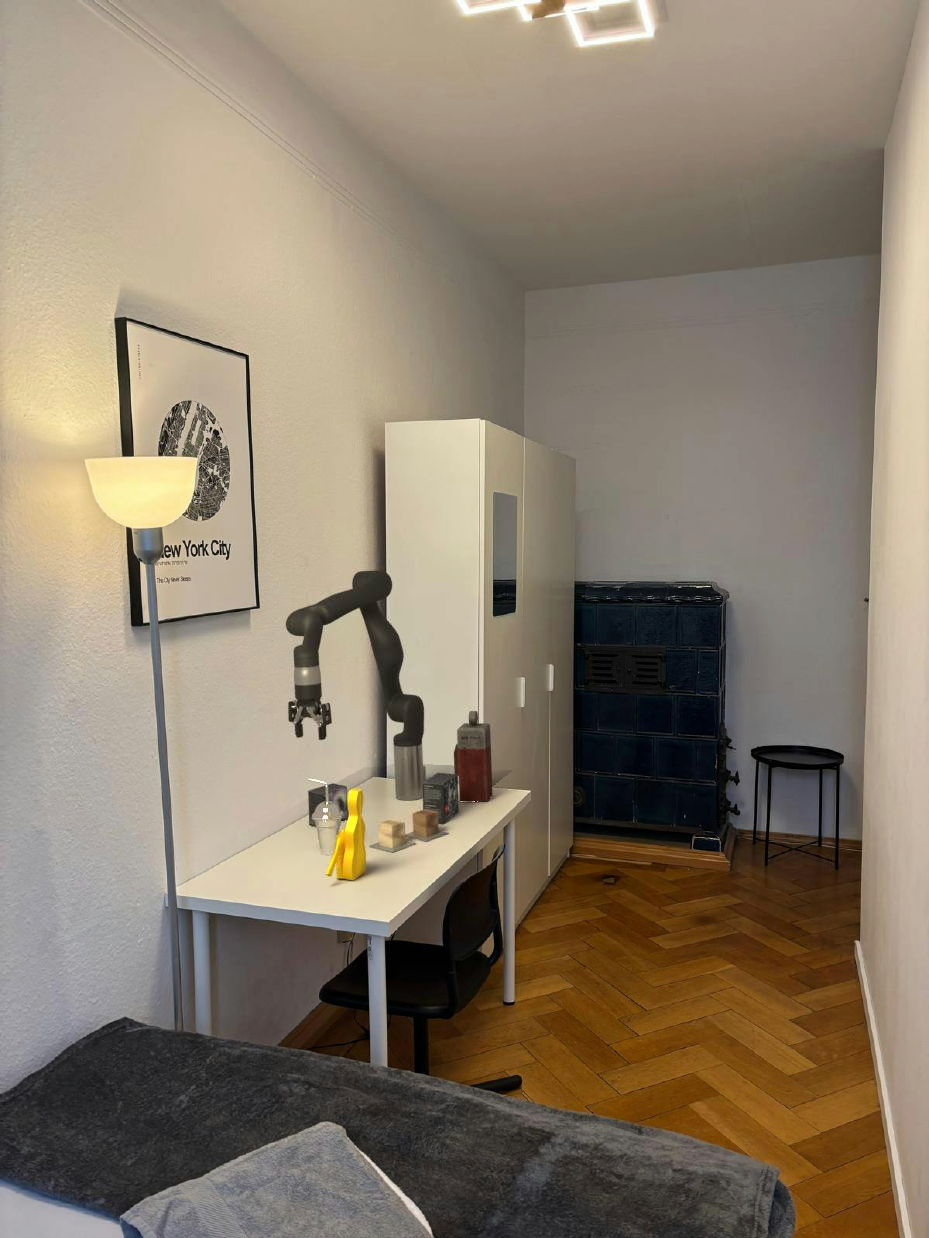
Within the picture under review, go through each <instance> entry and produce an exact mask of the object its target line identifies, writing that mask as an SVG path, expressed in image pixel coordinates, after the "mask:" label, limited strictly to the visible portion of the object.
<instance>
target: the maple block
mask: <svg viewBox="0 0 929 1238" xmlns="http://www.w3.org/2000/svg"><path fill="white" fill-rule="evenodd" d="M405 834H406V821H402V820H399V819H394V818H391V819H387V820H384V821H382V822H379V823H378V838H379V839H378V840H379V841H378V842H380V845H382V846H385V847H389V848H395V847H398V846H401V845H403V844H406V841H407V840H406V838H407V837H406V836H405Z"/></svg>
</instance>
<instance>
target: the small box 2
mask: <svg viewBox="0 0 929 1238" xmlns="http://www.w3.org/2000/svg"><path fill="white" fill-rule="evenodd" d="M422 788H423V797H422V810H424V809H426V810H431V811H436V812H438V825H439V824H440V825H445V824H446V823H448V822H449V821H450V820H451V819H452V818H453V817H455V816H456V815H455V814H458V813H459V812H460V811H459V776H458V774H454V773H448V772H446V773H445V772H437V773H435V774H434V775H432V776H431V777H429V778H428V779H427V778H426V781H424V782H423V783H422ZM450 818H451V819H450ZM449 819H450V820H449Z"/></svg>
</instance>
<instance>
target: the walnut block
mask: <svg viewBox="0 0 929 1238" xmlns="http://www.w3.org/2000/svg"><path fill="white" fill-rule="evenodd" d="M439 830H440V829H439V824H438V812H436V811H431V810H426V809H424V810H423V809H421V810H418V811H415V812H412V832H413V834H414V835H418V836H422V837H426V838H427V837H429V836H432V835H435V834H437V833H439Z"/></svg>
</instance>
